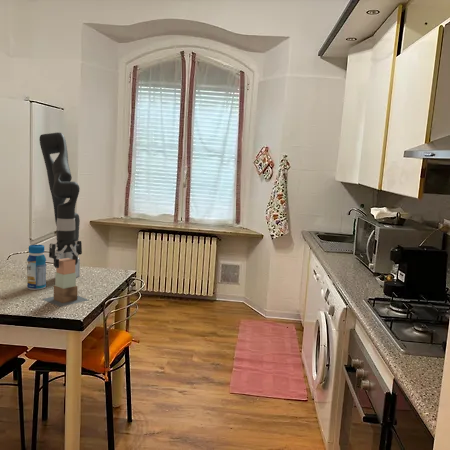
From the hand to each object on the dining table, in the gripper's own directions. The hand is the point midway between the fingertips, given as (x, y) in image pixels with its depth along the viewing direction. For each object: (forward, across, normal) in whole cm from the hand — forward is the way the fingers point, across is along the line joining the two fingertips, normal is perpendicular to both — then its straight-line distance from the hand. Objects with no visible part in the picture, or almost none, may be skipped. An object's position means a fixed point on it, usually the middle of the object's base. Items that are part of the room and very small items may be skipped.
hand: (65, 266), depth 198 cm
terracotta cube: (+3, 0, 0) cm, 3 cm away
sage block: (+9, 0, 0) cm, 9 cm away
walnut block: (+15, 0, 0) cm, 15 cm away
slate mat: (+15, 0, 0) cm, 15 cm away
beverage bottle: (+15, -1, -25) cm, 29 cm away
